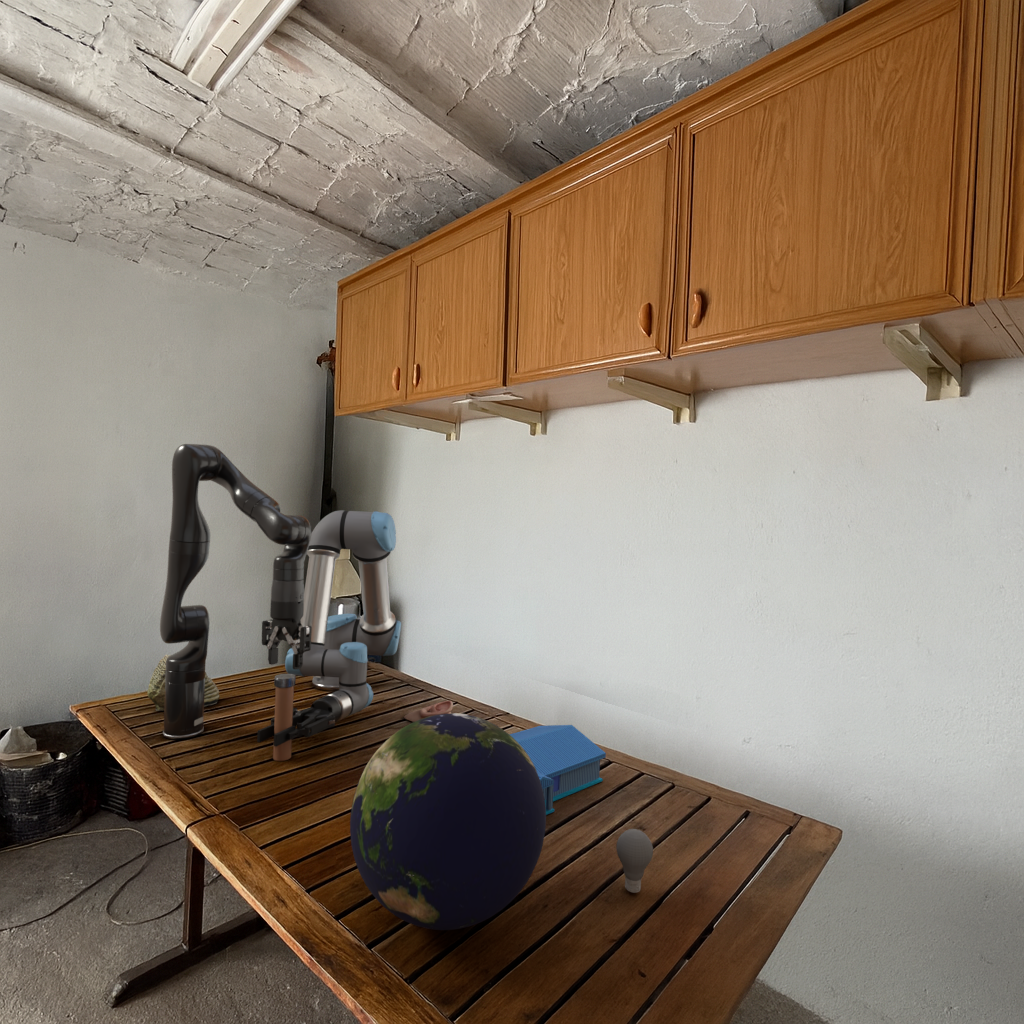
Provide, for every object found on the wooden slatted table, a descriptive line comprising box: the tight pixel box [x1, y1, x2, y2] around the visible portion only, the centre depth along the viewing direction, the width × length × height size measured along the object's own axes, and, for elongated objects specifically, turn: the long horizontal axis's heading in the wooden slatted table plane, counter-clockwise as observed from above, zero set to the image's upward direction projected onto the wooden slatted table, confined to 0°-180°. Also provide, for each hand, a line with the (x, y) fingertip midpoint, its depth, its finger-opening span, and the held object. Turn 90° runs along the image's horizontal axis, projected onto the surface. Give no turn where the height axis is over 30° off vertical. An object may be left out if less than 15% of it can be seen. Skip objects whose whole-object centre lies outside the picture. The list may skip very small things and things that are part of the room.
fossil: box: [147, 654, 221, 712], centre depth 185 cm, size 9×18×15 cm, turn 132°
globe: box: [349, 712, 547, 931], centre depth 98 cm, size 30×30×30 cm
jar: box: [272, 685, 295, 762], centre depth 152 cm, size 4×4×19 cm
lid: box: [273, 673, 297, 688], centre depth 152 cm, size 5×5×2 cm
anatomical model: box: [403, 700, 454, 723], centre depth 184 cm, size 13×4×12 cm
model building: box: [509, 724, 607, 816], centre depth 141 cm, size 39×24×10 cm, turn 132°
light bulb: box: [615, 828, 654, 894], centre depth 106 cm, size 6×6×10 cm
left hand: (285, 666), depth 152 cm, fingers open, 7 cm apart
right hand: (267, 738), depth 148 cm, fingers closed on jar, 4 cm apart
